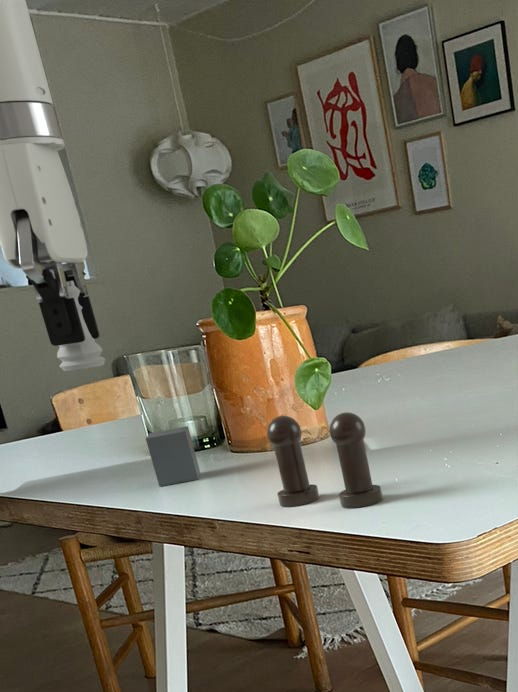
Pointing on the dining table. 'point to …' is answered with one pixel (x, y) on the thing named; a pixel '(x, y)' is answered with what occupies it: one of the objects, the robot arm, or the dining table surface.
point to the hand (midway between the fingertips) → (76, 340)
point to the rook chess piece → (80, 344)
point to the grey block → (173, 456)
